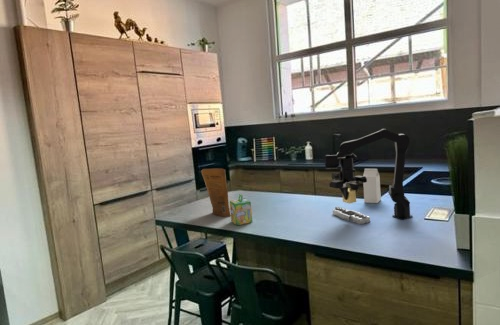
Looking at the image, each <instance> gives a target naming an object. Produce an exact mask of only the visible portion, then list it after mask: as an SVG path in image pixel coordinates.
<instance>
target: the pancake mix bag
mask: <svg viewBox="0 0 500 325" xmlns="http://www.w3.org/2000/svg"><path fill="white" fill-rule="evenodd" d="M200 173H201V175H202V178H203V181H204V183H205V187H206V190H207V193H208V197H209V201H210V204H211V207H212V213H211V214H212V215H214V216H217V217H218V216H220V217H223V218H226V217H227V218H228V217H231V211H230V201H229V192H228V191H229V190H228V183H227V175H226V169H224V168H219V167H218V168H217V167H216V168H202V170H201V172H200Z"/></svg>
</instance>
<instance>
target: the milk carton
mask: <svg viewBox="0 0 500 325" xmlns="http://www.w3.org/2000/svg"><path fill="white" fill-rule="evenodd" d="M362 176H365V177H366V178H367V182H365V183H362V185H363V201H364V203H367V204H369V203H370V204H378V203H379V202H380V201H381V200H382V196H381V178H380V173H379V170H378V168H364V171H363V175H362Z"/></svg>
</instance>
